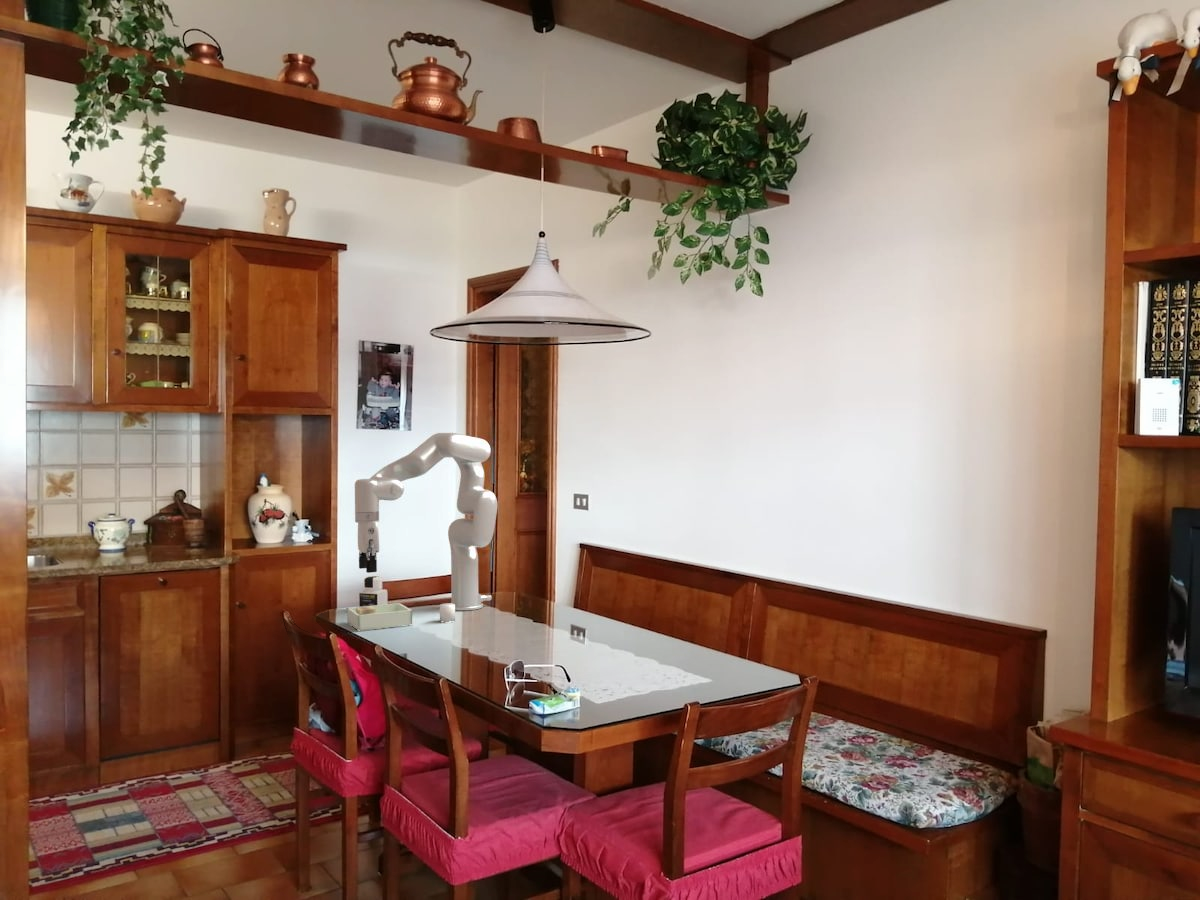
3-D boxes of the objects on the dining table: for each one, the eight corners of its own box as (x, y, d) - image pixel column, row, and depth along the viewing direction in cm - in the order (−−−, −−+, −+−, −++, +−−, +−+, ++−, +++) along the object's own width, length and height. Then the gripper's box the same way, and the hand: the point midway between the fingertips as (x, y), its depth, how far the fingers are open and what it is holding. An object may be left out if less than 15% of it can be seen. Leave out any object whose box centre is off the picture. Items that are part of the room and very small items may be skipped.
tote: (399, 617, 310) (399, 603, 310) (412, 625, 297) (412, 610, 297) (347, 623, 301) (347, 608, 301) (358, 631, 289) (357, 615, 289)
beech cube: (371, 621, 300) (371, 606, 300) (375, 624, 296) (375, 608, 296) (356, 623, 298) (356, 607, 298) (359, 626, 294) (359, 610, 294)
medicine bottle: (359, 612, 319) (358, 578, 319) (370, 608, 326) (369, 575, 326) (377, 613, 317) (377, 579, 317) (388, 609, 324) (387, 575, 323)
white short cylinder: (452, 619, 307) (452, 602, 307) (457, 621, 303) (457, 605, 303) (437, 620, 305) (437, 604, 305) (442, 623, 300) (442, 606, 300)
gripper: (385, 519, 291) (386, 572, 291) (372, 514, 306) (372, 565, 306) (361, 520, 287) (362, 574, 287) (349, 515, 302) (349, 567, 303)
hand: (367, 570), depth 297 cm, fingers open, 9 cm apart
